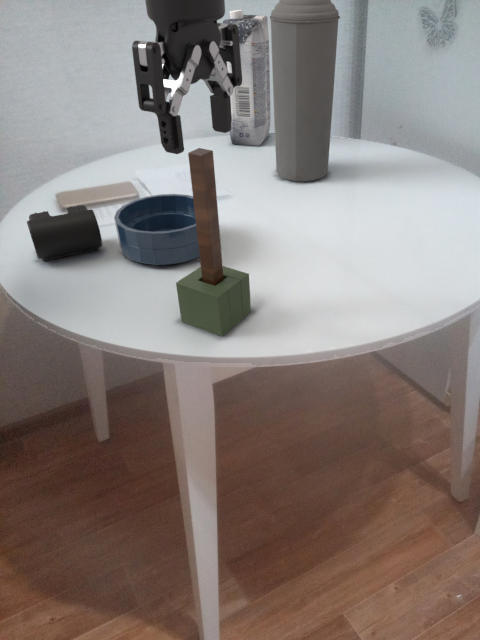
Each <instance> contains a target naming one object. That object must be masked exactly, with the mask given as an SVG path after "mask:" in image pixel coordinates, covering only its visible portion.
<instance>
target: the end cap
mask: <svg viewBox="0 0 480 640" xmlns="http://www.w3.org/2000/svg"><path fill="white" fill-rule="evenodd" d="M66 210H67V213H62V214H57V215H51V214H50V213H49V211H48V210H46V211H45V210H43V211H41V212H34V213H31V214H29V216H28V219H29V220H27V221H26V225H27V228H28V232H29V234H30V237H31V240H32V244H33V247H34V251H35V253H36V256H37V259H39V260H40V259H41V261H42V262H43V261H48V260H54V259H59V258H63V257H66V256H73V255H79V254H83V253H87V252H93V251H97V250H100V248H101V247H102V246H103V240H102V239H103V238H102V234H101V230H100V226H99V222H98V220H97V216H96V214H95V211H94V210H93V209H88V207H87V206H86V205H84V204H82V205H80V204H78V205H75V206H69V207H66Z"/></svg>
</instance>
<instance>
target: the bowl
mask: <svg viewBox="0 0 480 640" xmlns="http://www.w3.org/2000/svg"><path fill="white" fill-rule="evenodd" d="M113 220H114V225H115V230H116V234H117V238H118V243H119V248H120V251H121V253H122V255H123V256H125V257H126V258H128V259H129V260H130V261H134V262H137V263H141V264H144V265H145V264H148V265H156V266H166V265H167V266H169V265H176V264H177V265H178V264H182V263H187V262H189V261H192V260H195V259H197V258H200V255H199V246H198V237H197V228H196V219H195V210H194V201H193V195H190V194H181V193H180V194H179V193H165V194H164V193H163V194H156V195H155V194H154V195H149V196H144V197H140V198H137V199H134V200H131V201H130V202H128V203H125V204H123V205H122V206H121V207H120V208H118V209H117V210H116V212H115V214H114V216H113Z"/></svg>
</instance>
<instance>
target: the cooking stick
mask: <svg viewBox="0 0 480 640" xmlns="http://www.w3.org/2000/svg"><path fill="white" fill-rule="evenodd" d="M187 155H188V156H187V157H188V163H189V172H190V173H189V174H190V182H191V192H192V196H193V201H194V210H195V219H196V228H197V237H198V246H199V255H200V257H199V263H200V266H201V272H202V281H203V282H205V283H208V284H211V285H214V286H216V285H217V284H219V283H220V282H221V281H223V280H224V278H223V266H224V265H223V256H222V243H221V233H220V232H221V231H220V221H219V220H220V219H219V209H218V208H219V206H218V195H217V186H216V185H217V183H216V172H215V160H214V151H213V150H212V149H207V148H201V147H199V148H196V149H193V150H191V151H189V152H188V153H187Z"/></svg>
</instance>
